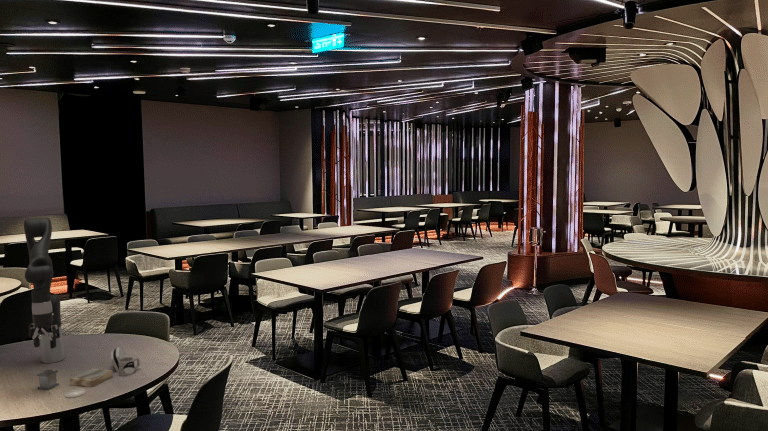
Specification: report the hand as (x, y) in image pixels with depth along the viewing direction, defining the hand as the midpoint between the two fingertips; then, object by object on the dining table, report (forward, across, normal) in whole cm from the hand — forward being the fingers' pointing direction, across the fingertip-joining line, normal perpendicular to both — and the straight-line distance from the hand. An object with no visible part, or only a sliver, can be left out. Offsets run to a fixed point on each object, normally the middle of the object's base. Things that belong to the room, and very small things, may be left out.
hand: (45, 347), depth 248 cm
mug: (+18, +24, +23) cm, 38 cm away
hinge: (+18, +14, +29) cm, 37 cm away
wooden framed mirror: (+18, +14, +10) cm, 25 cm away
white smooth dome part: (+18, +18, -4) cm, 26 cm away
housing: (+18, 0, 0) cm, 18 cm away
